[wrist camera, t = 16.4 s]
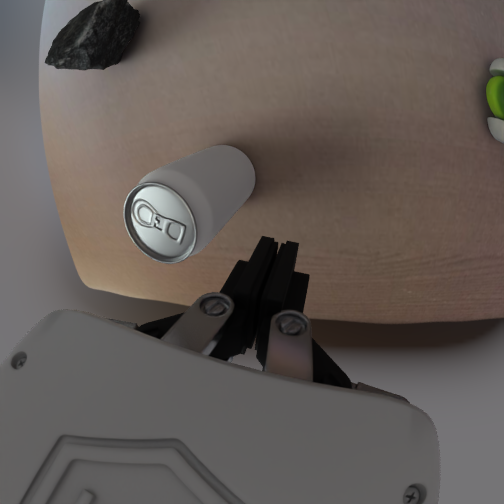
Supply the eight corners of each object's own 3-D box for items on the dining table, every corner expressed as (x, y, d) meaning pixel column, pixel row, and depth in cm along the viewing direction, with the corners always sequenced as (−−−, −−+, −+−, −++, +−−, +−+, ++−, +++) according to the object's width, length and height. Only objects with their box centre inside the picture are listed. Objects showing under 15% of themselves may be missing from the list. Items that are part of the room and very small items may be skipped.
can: (207, 133, 24) (126, 159, 14) (267, 161, 24) (218, 204, 14) (188, 189, 28) (114, 241, 18) (242, 216, 28) (188, 285, 18)
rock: (139, 71, 22) (68, 72, 14) (97, 67, 23) (31, 71, 14) (160, 8, 18) (94, -12, 10) (114, 10, 18) (50, 1, 10)
